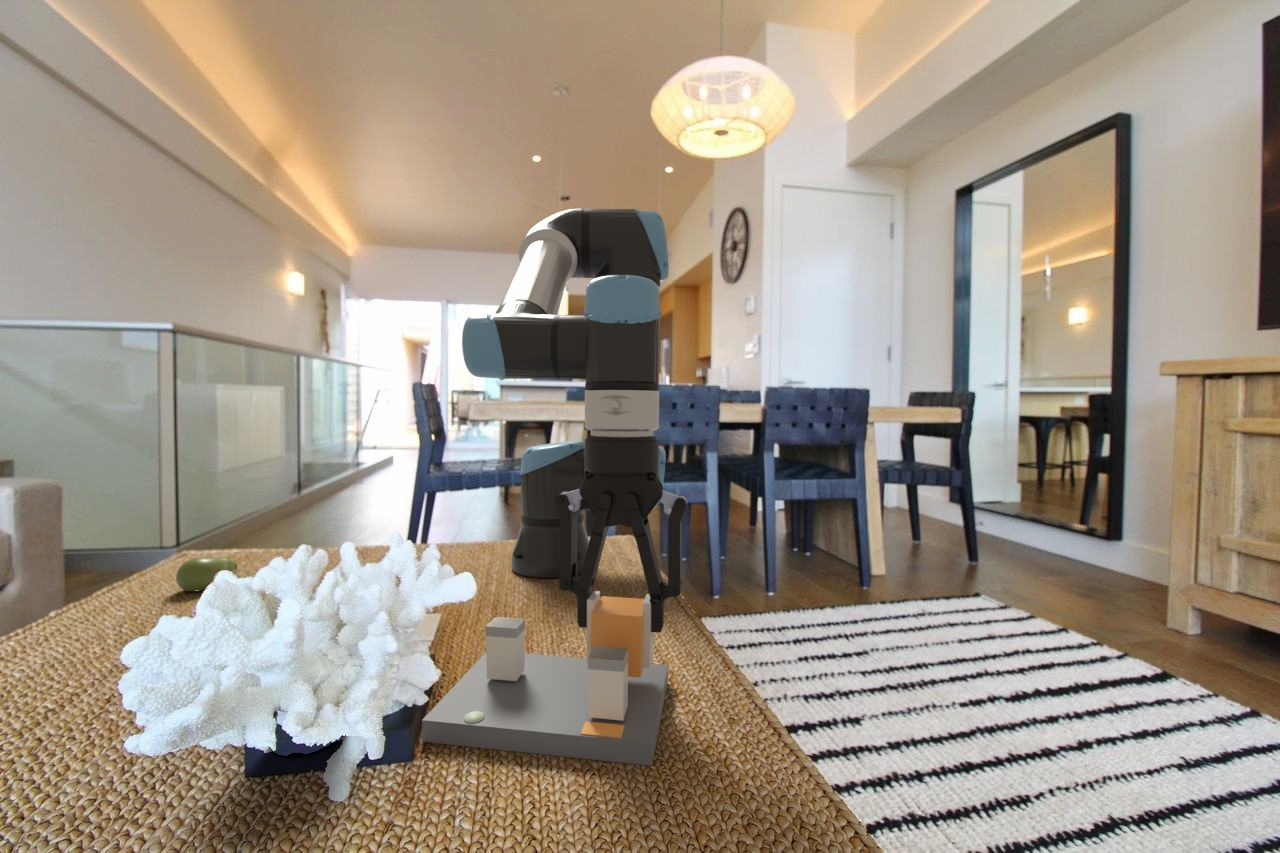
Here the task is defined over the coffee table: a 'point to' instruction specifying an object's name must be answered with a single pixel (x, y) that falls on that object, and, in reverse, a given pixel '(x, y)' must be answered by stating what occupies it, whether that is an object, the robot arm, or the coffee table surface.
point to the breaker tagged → (608, 682)
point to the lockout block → (620, 628)
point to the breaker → (505, 648)
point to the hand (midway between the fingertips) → (620, 659)
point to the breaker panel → (549, 713)
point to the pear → (202, 572)
